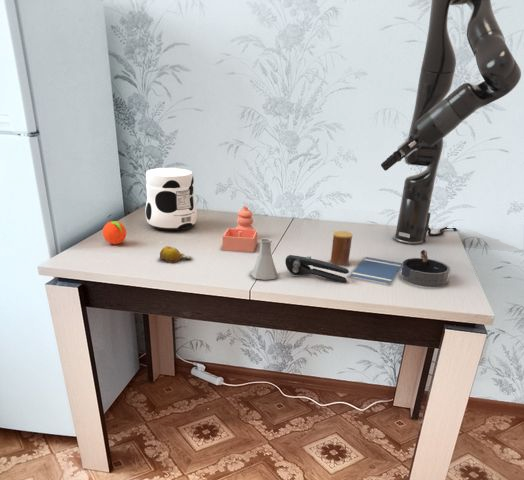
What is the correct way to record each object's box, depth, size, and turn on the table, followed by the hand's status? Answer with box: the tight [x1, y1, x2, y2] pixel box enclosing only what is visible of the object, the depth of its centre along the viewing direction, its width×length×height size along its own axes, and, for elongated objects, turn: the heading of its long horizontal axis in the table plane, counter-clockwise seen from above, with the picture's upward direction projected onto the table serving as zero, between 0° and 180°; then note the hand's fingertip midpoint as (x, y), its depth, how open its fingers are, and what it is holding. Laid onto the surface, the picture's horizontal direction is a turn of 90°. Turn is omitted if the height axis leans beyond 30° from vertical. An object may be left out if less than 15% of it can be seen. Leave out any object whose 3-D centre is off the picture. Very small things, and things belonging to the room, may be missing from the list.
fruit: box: [159, 245, 191, 263], centre depth 144 cm, size 8×8×4 cm
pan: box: [400, 257, 451, 288], centre depth 138 cm, size 12×12×4 cm
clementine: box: [102, 220, 127, 245], centre depth 153 cm, size 8×7×7 cm
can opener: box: [285, 254, 350, 283], centre depth 136 cm, size 18×7×6 cm, turn 69°
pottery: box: [222, 205, 258, 253], centre depth 159 cm, size 18×10×10 cm, turn 173°
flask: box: [250, 237, 278, 281], centre depth 134 cm, size 7×7×10 cm
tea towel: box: [349, 256, 403, 285], centre depth 143 cm, size 18×11×1 cm, turn 155°
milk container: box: [144, 167, 198, 231], centre depth 169 cm, size 17×17×18 cm
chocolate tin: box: [330, 230, 353, 267], centre depth 145 cm, size 5×5×9 cm
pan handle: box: [420, 249, 429, 265], centre depth 146 cm, size 10×2×2 cm, turn 166°
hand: (385, 165), depth 136 cm, fingers open, 8 cm apart
